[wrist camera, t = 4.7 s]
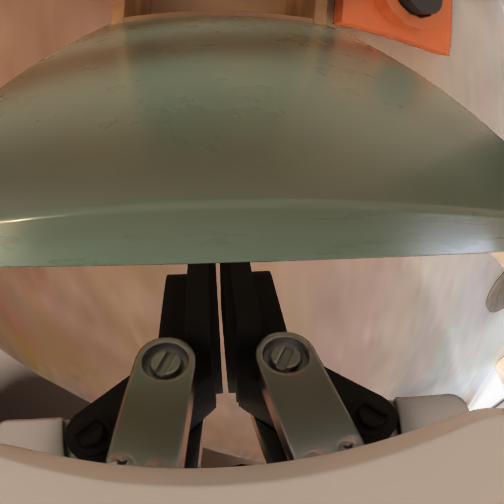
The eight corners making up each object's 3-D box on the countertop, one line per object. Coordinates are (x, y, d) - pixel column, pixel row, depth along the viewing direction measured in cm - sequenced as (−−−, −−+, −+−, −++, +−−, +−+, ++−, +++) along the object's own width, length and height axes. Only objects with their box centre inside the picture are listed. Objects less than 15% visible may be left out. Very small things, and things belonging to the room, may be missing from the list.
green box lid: (-132, 238, 2) (-111, 269, 2) (574, 223, 3) (554, 250, 4) (108, 24, 12) (108, 36, 13) (329, 25, 14) (327, 37, 15)
